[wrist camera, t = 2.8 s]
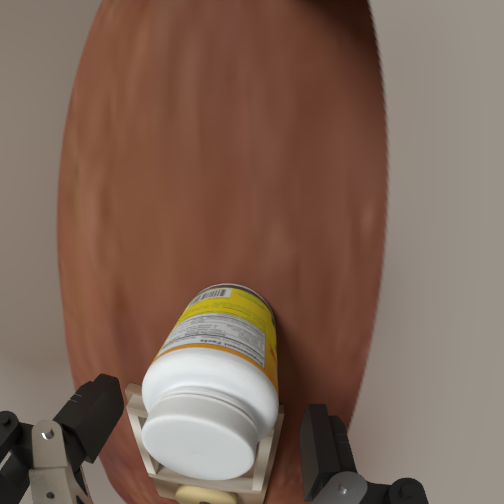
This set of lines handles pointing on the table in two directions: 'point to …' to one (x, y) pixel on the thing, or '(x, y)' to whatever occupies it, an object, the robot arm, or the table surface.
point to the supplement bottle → (213, 385)
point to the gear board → (197, 490)
